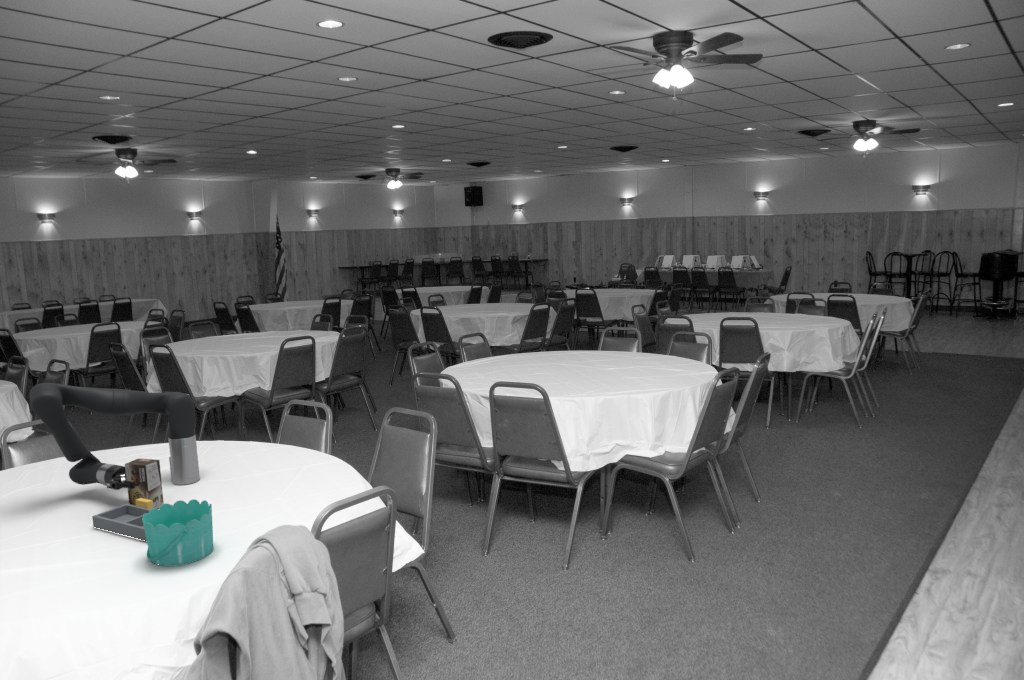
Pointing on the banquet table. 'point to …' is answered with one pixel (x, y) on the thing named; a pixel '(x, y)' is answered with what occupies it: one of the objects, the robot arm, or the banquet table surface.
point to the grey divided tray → (125, 519)
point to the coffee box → (145, 481)
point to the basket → (179, 532)
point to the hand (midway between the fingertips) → (143, 482)
